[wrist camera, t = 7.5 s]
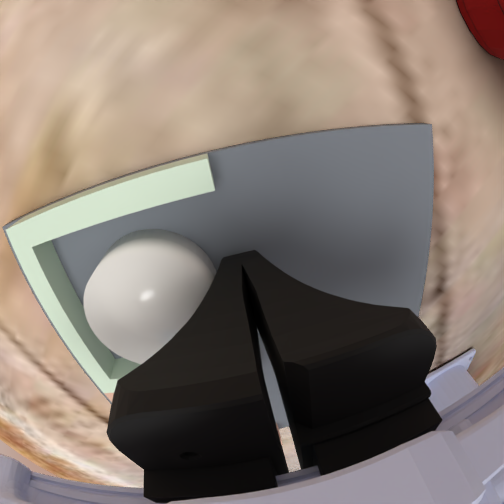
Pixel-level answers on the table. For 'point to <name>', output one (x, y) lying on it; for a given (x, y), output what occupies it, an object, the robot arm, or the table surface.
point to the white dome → (146, 291)
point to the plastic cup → (485, 23)
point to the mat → (298, 217)
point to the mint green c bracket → (82, 216)
